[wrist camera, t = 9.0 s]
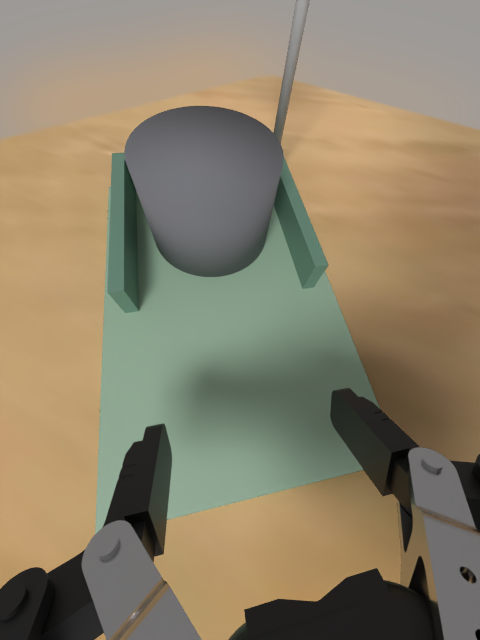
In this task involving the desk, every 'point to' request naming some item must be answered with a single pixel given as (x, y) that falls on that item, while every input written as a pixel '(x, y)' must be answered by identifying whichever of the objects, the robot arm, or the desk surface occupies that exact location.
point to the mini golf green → (224, 353)
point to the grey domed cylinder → (206, 186)
